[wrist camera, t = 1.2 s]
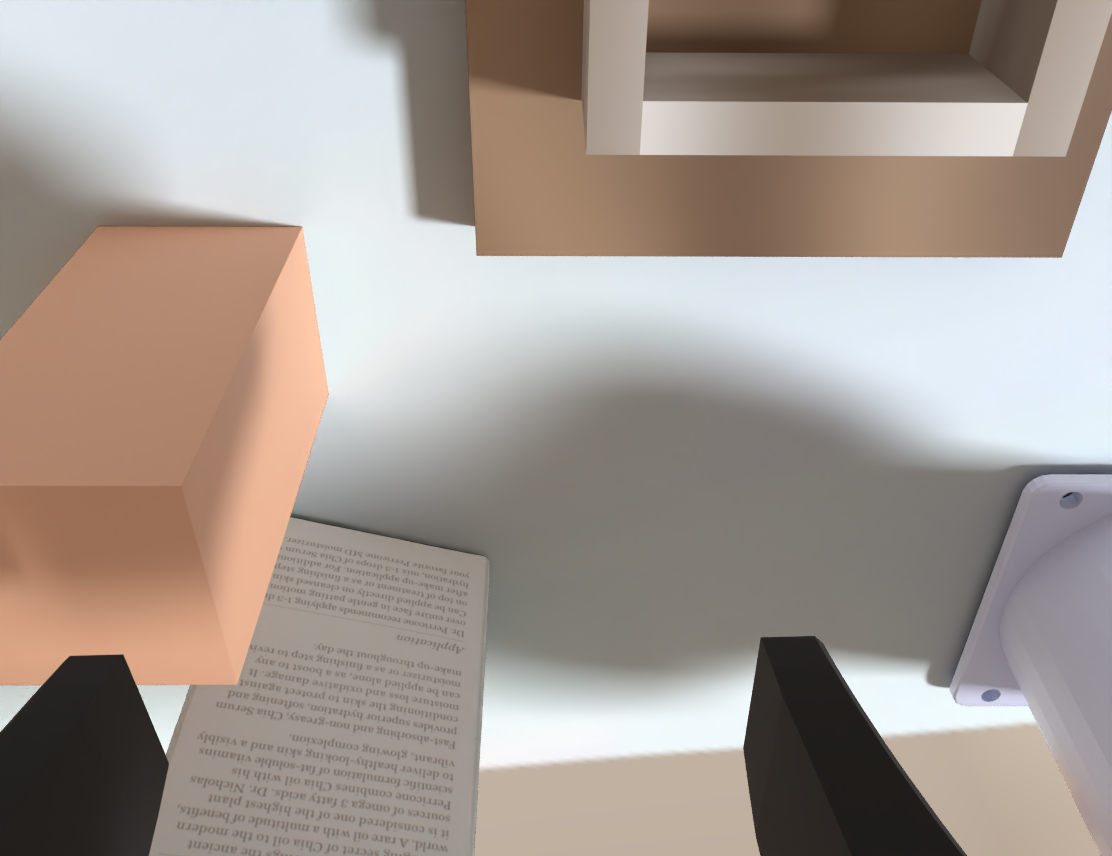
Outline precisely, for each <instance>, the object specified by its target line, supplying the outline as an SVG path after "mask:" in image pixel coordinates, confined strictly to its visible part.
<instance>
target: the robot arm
mask: <svg viewBox="0 0 1112 856" xmlns="http://www.w3.org/2000/svg"><path fill="white" fill-rule="evenodd" d="M1071 492H1073V493H1072V494H1071V495H1070V496H1068V497H1065V498H1062V497H1063V496H1064V495H1066V494H1068V493H1071ZM950 691H951V694H952V696H953V699H954V700H955V702H956V703H958V704H960V705H963V706H1029V708H1030V710H1031V712H1032V714H1033V716H1034V718H1035V720H1036V722H1037V724H1038V726H1039V728H1040V730H1041V732H1042V735H1043V737H1044V739H1045V741H1046V743H1047V745H1048V747H1049V749H1050V751H1051V753H1052V755H1053V757H1054V759H1055V762H1056V764H1057V766H1058V768H1059V770H1060V772H1061V774H1062V776H1063V778H1064V780H1065V782H1066V784H1067V786H1068V789H1069V790H1070V793H1071V795H1072V797H1073V799H1074V801H1075V803H1076V805H1077V807H1078V809H1079V811H1080V813H1081V816H1082V817H1083V820H1084V822H1085V824H1086V826H1087V828H1088V830H1089V832H1090V834H1091V836H1092V838H1093V840H1094V843H1095V845H1096V847H1097V849H1098V851H1099V853H1100V855H1101V856H1112V474H1049V475H1042V476H1039V477H1037V478H1035V479H1033V480H1032V481H1030V482H1029V483H1028V484H1027V485H1026V486H1025V488H1024V489H1023V491H1022V494H1021V497H1020V499H1019V502H1018V505H1017V507H1016V510H1015V513H1014V515H1013V518H1012V521H1011V523H1010V526H1009V529H1008V532H1007V534H1006V537H1005V540H1004V542H1003V545H1002V548H1001V550H1000V553H999V556H998V558H997V561H996V564H995V567H994V569H993V572H992V575H991V577H990V580H989V583H988V585H987V588H986V591H985V593H984V596H983V599H982V602H981V604H980V607H979V610H978V612H977V615H976V618H975V620H974V623H973V626H972V628H971V631H970V634H969V636H968V639H967V642H966V645H965V647H964V650H963V653H962V655H961V658H960V661H959V663H958V666H957V669H956V671H955V674H954V677H953V680H952V682H951V685H950ZM743 749H744V756H745V763H746V770H747V778H748V786H749V793H750V800H751V807H752V813H753V820H754V826H755V833H756V839H757V843H758V847H759V851H760V855H761V856H967V855H966V854H965V852H964V851H963V850H962V848H961V847H960V846H959V844H958V843H957V842H956V841H955V839H954V838H953V837H952V835H951V834H950V833H949V831H948V830H947V829H946V827H945V826H944V825H943V824H942V822H941V821H940V820H939V818H938V817H937V815H936V814H935V813H934V811H933V810H932V808H931V807H930V806H929V804H928V803H927V802H926V800H925V799H924V797H923V796H922V795H921V793H920V792H919V790H918V789H917V788H916V787H915V785H914V784H913V782H912V781H911V779H910V778H909V777H908V775H907V774H906V772H905V771H904V770H903V768H902V767H901V765H900V764H899V763H898V761H897V760H896V758H895V757H894V755H893V754H892V752H891V751H890V750H889V748H888V746H887V745H886V744H885V742H884V741H883V739H882V737H881V736H880V734H879V733H878V731H877V730H876V728H875V727H874V725H873V724H872V722H871V721H870V719H869V718H868V716H867V715H866V713H865V712H864V710H863V709H862V707H861V705H860V704H859V702H858V701H857V699H856V698H855V696H854V694H853V693H852V691H851V690H850V688H849V686H848V685H847V683H846V682H845V680H844V678H843V677H842V675H841V673H840V672H839V670H838V668H837V667H836V665H835V663H834V662H833V660H832V658H831V657H830V655H829V653H828V651H827V650H826V648H825V646H824V644H823V643H822V642H821V641H820V640H819V639H817V638H816V637H815V636H802V637H764V638H761V640H760V646H759V653H758V659H757V665H756V672H755V678H754V684H753V691H752V697H751V703H750V710H749V716H748V722H747V729H746V735H745V741H744V748H743ZM168 767H169V762H168V760H167V757H166V755H165V753H164V750H163V748H162V745H161V743H160V741H159V738H158V736H157V734H156V731H155V729H154V726H153V724H152V722H151V719H150V717H149V714H148V712H147V710H146V707H145V705H144V702H143V700H142V698H141V695H140V693H139V690H138V688H137V686H136V683H135V681H134V679H133V676H132V674H131V671H130V669H129V667H128V664H127V662H126V659H125V657H124V655H123V654H119V655H81V656H69V657H68V658H67V659H66V660H65V661H64V662H63V663H62V664H61V665H60V666H59V667H58V669H57V670H56V671H55V672H54V673H53V674H52V675H51V676H50V677H49V678H48V679H47V681H46V682H45V683H44V684H43V685H42V686H41V687H40V688H39V689H38V691H37V692H36V693H35V694H34V695H33V696H32V697H31V698H30V700H29V701H28V702H27V703H26V704H25V705H24V706H23V707H22V708H21V710H20V711H19V712H18V713H17V714H16V715H15V716H14V717H13V719H12V720H11V721H10V722H9V723H8V724H7V725H6V726H5V728H4V729H3V730H2V731H1V732H0V856H149V853H150V849H151V845H152V840H153V836H154V832H155V828H156V823H157V819H158V815H159V810H160V806H161V801H162V796H163V791H164V786H165V781H166V777H167V772H168Z"/></svg>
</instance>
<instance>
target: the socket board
mask: <svg viewBox="0 0 1112 856" xmlns="http://www.w3.org/2000/svg"><path fill="white" fill-rule="evenodd" d="M465 7H466V29H467V51H468V74H469V96H470V119H471V141H472V163H473V186H474V208H475V230H476V253H477V256H740V257H1062V255H1063V252H1064V249H1065V246H1066V243H1067V240H1068V237H1069V234H1070V232H1071V229H1072V226H1073V223H1074V220H1075V217H1076V214H1077V211H1078V208H1079V205H1080V202H1081V199H1082V196H1083V193H1084V190H1085V187H1086V185H1087V182H1088V179H1089V176H1090V173H1091V170H1092V167H1093V164H1094V161H1095V158H1096V155H1097V152H1098V149H1099V146H1100V143H1101V140H1102V137H1103V135H1104V132H1105V129H1106V126H1107V123H1108V120H1109V117H1110V114H1111V111H1112V0H465Z"/></svg>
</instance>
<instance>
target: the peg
mask: <svg viewBox="0 0 1112 856" xmlns="http://www.w3.org/2000/svg"><path fill="white" fill-rule="evenodd" d="M328 395H329V394H328V387H327V381H326V375H325V368H324V362H323V355H322V349H321V343H320V336H319V330H318V323H317V317H316V311H315V304H314V298H313V291H312V285H311V279H310V272H309V266H308V259H307V253H306V247H305V240H304V234H303V227H213V226H98V227H97V228H96V229H95V231H94V232H93V233H92V234H91V235H90V236H89V238H88V239H87V240H86V241H85V242H84V243H83V245H82V246H81V247H80V248H79V249H78V250H77V251H76V253H75V254H74V255H73V256H72V257H71V258H70V260H69V261H68V262H67V263H66V264H65V265H64V267H63V268H62V269H61V270H60V271H59V272H58V274H57V275H56V276H55V277H54V278H53V279H52V281H51V282H50V283H49V284H48V285H47V286H46V287H45V289H44V290H43V291H42V292H41V293H40V294H39V296H38V297H37V298H36V299H35V300H34V301H33V303H32V304H31V305H30V306H29V307H28V308H27V310H26V311H25V312H24V313H23V314H22V315H21V317H20V318H19V319H18V320H17V321H16V322H15V324H14V325H13V326H12V327H11V328H10V329H9V330H8V332H7V333H6V334H5V335H4V336H3V337H2V339H1V340H0V685H43V684H44V683H45V682H46V681H47V679H48V678H49V677H50V676H51V675H52V674H53V673H54V672H55V671H56V670H57V669H58V667H59V666H60V665H61V664H62V663H63V662H64V661H65V660H66V659H67V658H68V657H69V656H81V655H119V654H123V655H124V657H125V659H126V662H127V664H128V667H129V669H130V671H131V674H132V676H133V679H134V681H135V683H136V685H237V684H238V681H239V677H240V674H241V671H242V668H243V665H244V662H245V658H246V655H247V652H248V649H249V646H250V643H251V639H252V636H253V633H254V630H255V627H256V624H257V620H258V617H259V614H260V611H261V608H262V604H263V601H264V598H265V595H266V592H267V589H268V585H269V582H270V579H271V576H272V573H273V570H274V566H275V563H276V560H277V557H278V554H279V551H280V547H281V544H282V541H283V538H284V535H285V532H286V528H287V525H288V522H289V519H290V516H291V513H292V509H293V506H294V503H295V500H296V497H297V494H298V490H299V487H300V484H301V481H302V478H303V474H304V471H305V468H306V465H307V462H308V459H309V455H310V452H311V449H312V446H313V443H314V440H315V436H316V433H317V430H318V427H319V424H320V421H321V417H322V414H323V411H324V408H325V405H326V402H327V398H328Z"/></svg>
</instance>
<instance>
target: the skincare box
mask: <svg viewBox="0 0 1112 856" xmlns="http://www.w3.org/2000/svg"><path fill="white" fill-rule="evenodd" d="M489 576H490V565H489V560H488V559H487V558H486V557H485V556H480V555H474V554H469V553H464V552H458V551H453V550H448V549H443V548H439V547H434V546H429V545H424V544H419V543H414V542H409V541H405V540H400V539H395V538H390V537H385V536H380V535H375V534H371V533H366V532H361V531H356V530H351V529H346V528H341V527H336V526H331V525H326V524H321V523H316V522H311V521H307V520H302V519H297V518H293V517H290V519H289V522H288V525H287V528H286V532H285V535H284V538H283V541H282V544H281V547H280V551H279V554H278V557H277V560H276V563H275V566H274V570H273V573H272V576H271V579H270V582H269V585H268V589H267V592H266V595H265V598H264V601H263V604H262V608H261V611H260V614H259V617H258V620H257V624H256V627H255V630H254V633H253V636H252V639H251V643H250V646H249V649H248V652H247V655H246V658H245V662H244V665H243V668H242V671H241V674H240V677H239V681H238V684H237V685H190V687H189V690H188V693H187V696H186V699H185V702H184V705H183V708H182V711H181V713H180V716H179V719H178V722H177V724H176V727H175V730H174V733H173V736H172V739H171V742H170V744H169V747H168V750H167V753H166V757H167V760H168V762H169V767H168V772H167V777H166V781H165V786H164V791H163V796H162V801H161V806H160V810H159V815H158V819H157V823H156V828H155V832H154V836H153V840H152V845H151V849H150V853H149V856H474V853H475V834H476V816H477V799H478V798H477V797H478V780H479V778H478V777H479V760H480V744H481V728H482V707H483V691H484V672H485V653H486V635H487V616H488V599H489Z"/></svg>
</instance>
